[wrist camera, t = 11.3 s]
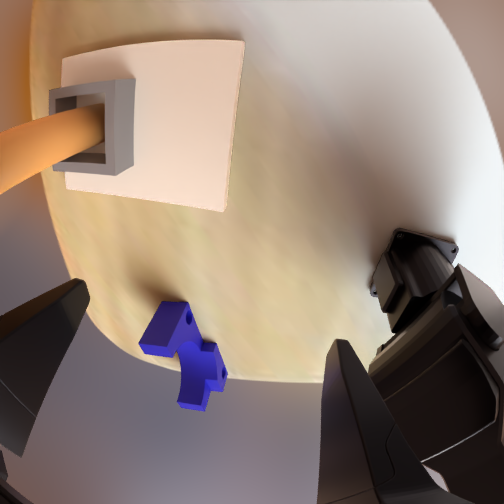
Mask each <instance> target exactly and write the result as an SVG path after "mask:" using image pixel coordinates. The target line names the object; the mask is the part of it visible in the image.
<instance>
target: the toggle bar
mask: <svg viewBox="0 0 504 504" xmlns="http://www.w3.org/2000/svg"><path fill="white" fill-rule="evenodd" d="M103 142H105V104H103V103H98V104H93V105H89V106H84V107H80V108H76V109H72V110H68V111H64V112H60V113H57V114H53V115H50V116H46V117H43V118H40V119H37V120H33V121H30V122H27V123H25V124H22V125H19V126H16V127H13V128H11V129H8V130H5V131H3V132H0V194H2V193H3V192H5V191H7V190H8V189H10V188H12V187H13V186H15V185H17V184H18V183H20V182H22V181H23V180H25V179H27V178H29V177H31V176H33V175H34V174H36V173H38V172H40V171H42V170H44V169H46V168H48V167H50V166H52V165H54V164H56V163H58V162H60V161H62V160H64V159H66V158H68V157H70V156H73V155H75V154H77V153H79V152H82V151H84V150H86V149H88V148H91V147H93V146H96V145H98V144H100V143H103Z"/></svg>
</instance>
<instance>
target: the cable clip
mask: <svg viewBox="0 0 504 504" xmlns="http://www.w3.org/2000/svg"><path fill="white" fill-rule="evenodd" d="M138 344H139V345H140V347H141V349H142V350H143V352H144V353H145V354H149V355H155V356H163V357H171V358H173V356H174V354H175V352H176V351H177V353H178V356H179V359H180V364H181V387H180V393H179V397H178V400H177V402H178V404H179V405H180V407H181V408H186V409H192V410H198V411H205V409H206V405H207V402H208V399H209V395H210V392H211V391H218V392H223V390H224V386H225V382H226V378H227V375H228V373H227V370H226V368H225V365H224V362H223V360H222V357H221V354H220V352H219V349H218V346H217V343H207V342H203V339H202V337H201V334H200V332H199V329H198V327H197V324H196V322H195V319H194V317H193V314H192V311H191V309H190V306H189V303H188V302H165V301H162V302H161V304H160V306H159V307H158V309H157V311H156V313H155V314H154V316H153V318H152V320H151V321H150V323H149V325H148V327H147V329H146V330H145V332H144V334H143V336H142V338H141V339H140V341H139V343H138Z"/></svg>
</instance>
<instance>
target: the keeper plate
mask: <svg viewBox="0 0 504 504" xmlns="http://www.w3.org/2000/svg"><path fill="white" fill-rule="evenodd" d="M244 50H245V42H243V41H238V40H172V41H158V42H147V43H138V44H131V45H124V46H117V47H111V48H106V49H100V50H95V51H91V52H86V53H82V54H78V55H74V56H70V57H66V58H63V60H62V75H61V88H57V89H52V90H49V116H50V115H53V114H57V113H60V112H64V111H68V110H72V109H76V108H80V107H84V106H89V105H93V104H98V103H103V104H105V142H103V143H100V144H98V145H96V146H93V147H91V148H88V149H86V150H84V151H82V152H79V153H77V154H75V155H73V156H70V157H68V158H66V159H64V160H62V161H60V162H58V163H56V164H54V165H52V166H53V171H61V172H65V180H66V188H67V189H70V190H79V191H87V192H95V193H102V194H110V195H117V196H124V197H131V198H138V199H145V200H152V201H158V202H165V203H171V204H178V205H184V206H190V207H196V208H202V209H208V210H214V211H220V212H224V210H225V208H226V207H227V196H228V186H229V176H230V166H231V157H232V147H233V138H234V129H235V121H236V112H237V104H238V96H239V88H240V80H241V72H242V65H243V58H244Z"/></svg>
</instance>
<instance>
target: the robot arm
mask: <svg viewBox="0 0 504 504" xmlns="http://www.w3.org/2000/svg"><path fill="white" fill-rule="evenodd" d="M398 234H402V235H401V236H400V237H397V236H398ZM453 248H454V250H452V249H453ZM458 250H459V248H458V246H457V245H456V244H455V243H453V242H449V241H446V240H442V239H439V238H435V237H432V236H428V235H424V234H421V233H417V232H413V231H409V230H406V229H402V228H398V229H396V230H395V231H394V233H393V235H392V238H391V240H390V243H389V245H388V248H387V250H386V251H385V252H384V253H383V254H382V257H381V259H380V262H379V264H378V266H377V269H376V271H375V273H374V276H373V280H374V281H373V283H372V285H371V287H370V294H371V296H373V297H378V299H379V303H380V306H381V310H382V312H383V313H387V316H388V320H389V324H390V328H391V332H392V333H396V334H395V335H394V336H393V337H392V338H391V339H390V340H389V341H387V342H386V343H385V344H382V345H381V346H380V347H379V348H378V349H377V354H376V357H375V358H374V359H373V361H372V362H371V364H370V365H369V370H368V373H367V371H366V370H365V368H364V366H363V365H362V363H361V361H360V360H359V358H358V356H357V355H356V353H355V351H354V350H353V348H352V346H351V345H350V343H349V342H348V341H347V340H344V339H335V340H334V342H333V344H332V346H331V348H330V350H329V352H328V354H327V357H326V364H325V374H324V382H323V391H322V399H321V442H320V443H321V444H320V466H319V482H318V495H317V496H318V497H317V504H504V305H503V304H502V303H501V301H500V300H499V298H498V297H497V295H496V294H495V293H494V291H493V290H492V289H491V288H490V287H489V286H488V285H486V284H485V283H484V282H483V281H481V280H480V279H479V278H478V277H476V276H475V275H474V274H472V273H471V272H470V271H468V270H467V269H466V268H464V267H463V266H462V265H460V264H459V263H458V265H457V266H456V267H455V268H454V267H453V265H452V263H453V261H454V259H455V257H456V255H457V253H458ZM375 290H376V292H374V291H375ZM89 302H90V295H89V292H88V289H87V285H86V282H85V281H84V280H81V279H78V278H74V279H72V280H70V281H68V282H66V283H64V284H62V285H60V286H58V287H56V288H54V289H52V290H50V291H48V292H46V293H44V294H42V295H40V296H38V297H36V298H34V299H32V300H30V301H28V302H26V303H24V304H22V305H20V306H18V307H16V308H15V309H13V310H11V311H9V312H7V313H5V314H4V315H1V316H0V446H1V445H2V446H4V447H5V448H6V449H8V450H10V451H11V452H13V453H14V454H16V455H17V456H19V457H22V455H23V453H24V450H25V447H26V444H27V441H28V438H29V435H30V433H31V430H32V428H33V425H34V422H35V420H36V417H37V414H38V412H39V409H40V407H41V405H42V402H43V400H44V398H45V396H46V393H47V391H48V388H49V386H50V384H51V382H52V380H53V378H54V375H55V374H56V372H57V370H58V367H59V365H60V363H61V361H62V359H63V357H64V355H65V353H66V351H67V350H68V348H69V346H70V344H71V342H72V340H73V338H74V336H75V334H76V332H77V330H78V327H79V325H80V322H81V320H82V318H83V316H84V313H85V311H86V309H87V307H88V304H89ZM423 465H424V466H426V467H428V468H430V469H432V470H434V471H435V472H437V473H439V474H440V475H441V477H442V478H443V480H444V482H445V485H446V487H447V489H448V492H447V491H445V490H444V489H442V488H441V487H440V486H438V485H437V484H436V483H435V482H434V480H433V479H432V478H431V476H430V475H429V473H428V472H427V470H426V469H425V468H424V466H423ZM7 477H8V474H7V470H6V467H5V463H4V459H3V454H2V451H1V450H0V504H33V503H32V502H31V501H29V500H28V499H27V498H25V497H24V496H23V495H21V494H20V493H19V492H18V491H17V490H15V489H14V488H13V487H12V486H10V485H9V484H8V483H7V482H6V480H7Z"/></svg>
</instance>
